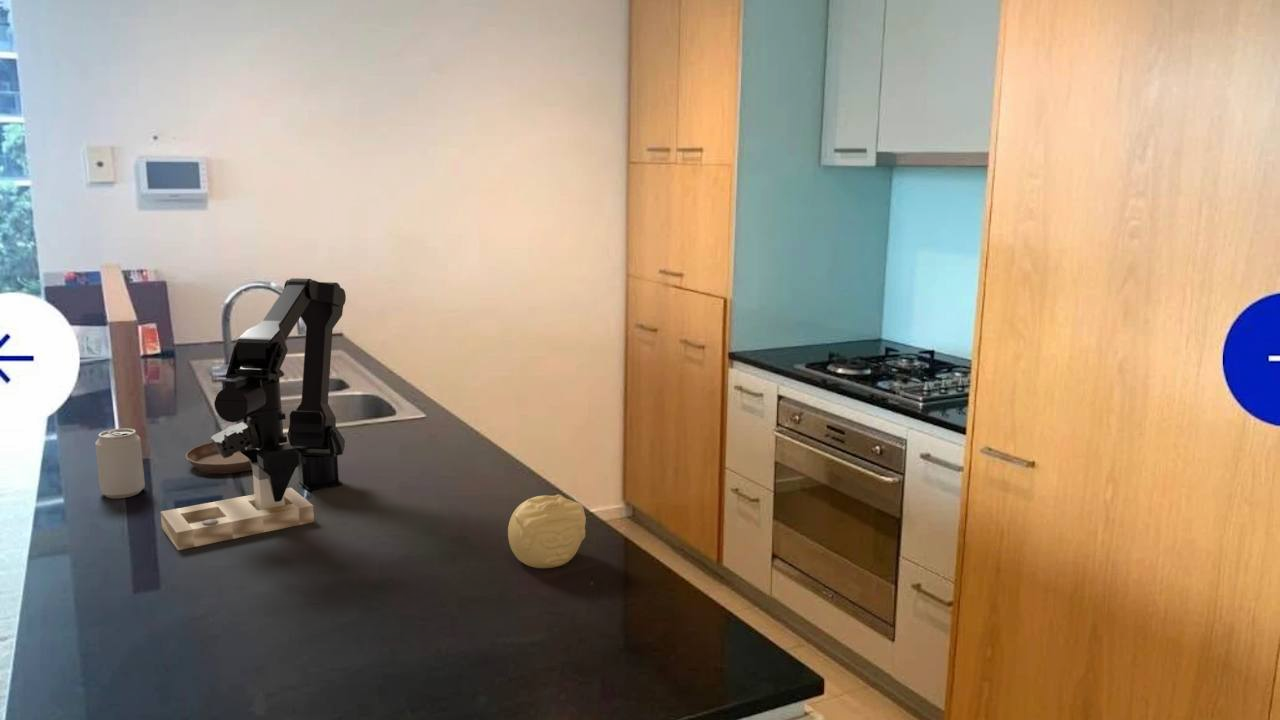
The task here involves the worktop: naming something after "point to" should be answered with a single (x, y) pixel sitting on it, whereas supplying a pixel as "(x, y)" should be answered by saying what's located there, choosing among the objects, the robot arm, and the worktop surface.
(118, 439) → the can
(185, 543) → the socket block
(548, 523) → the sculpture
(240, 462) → the plant saucer
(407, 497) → the worktop surface
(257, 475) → the plug
